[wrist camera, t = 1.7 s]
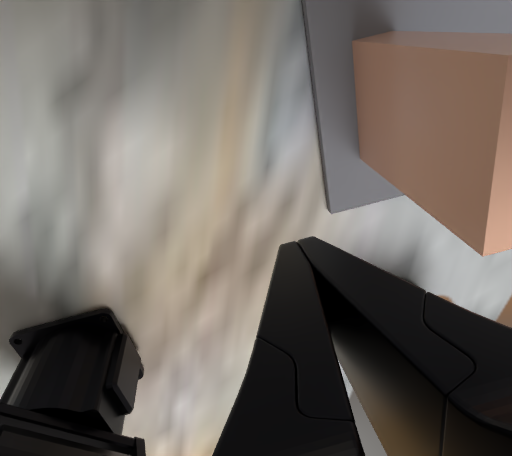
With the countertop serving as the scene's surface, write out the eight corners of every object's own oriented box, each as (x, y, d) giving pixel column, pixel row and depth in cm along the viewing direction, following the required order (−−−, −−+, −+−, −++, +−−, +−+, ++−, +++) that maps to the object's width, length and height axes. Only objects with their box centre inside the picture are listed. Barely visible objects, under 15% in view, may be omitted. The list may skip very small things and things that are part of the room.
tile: (360, 158, 20) (482, 256, 12) (352, 40, 17) (508, 55, 9) (398, 148, 20) (548, 239, 12) (396, 29, 17) (596, 32, 9)
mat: (327, 209, 22) (331, 214, 22) (299, -23, 16) (302, -25, 16) (544, 153, 23) (553, 156, 22) (593, -94, 17) (606, -98, 16)
